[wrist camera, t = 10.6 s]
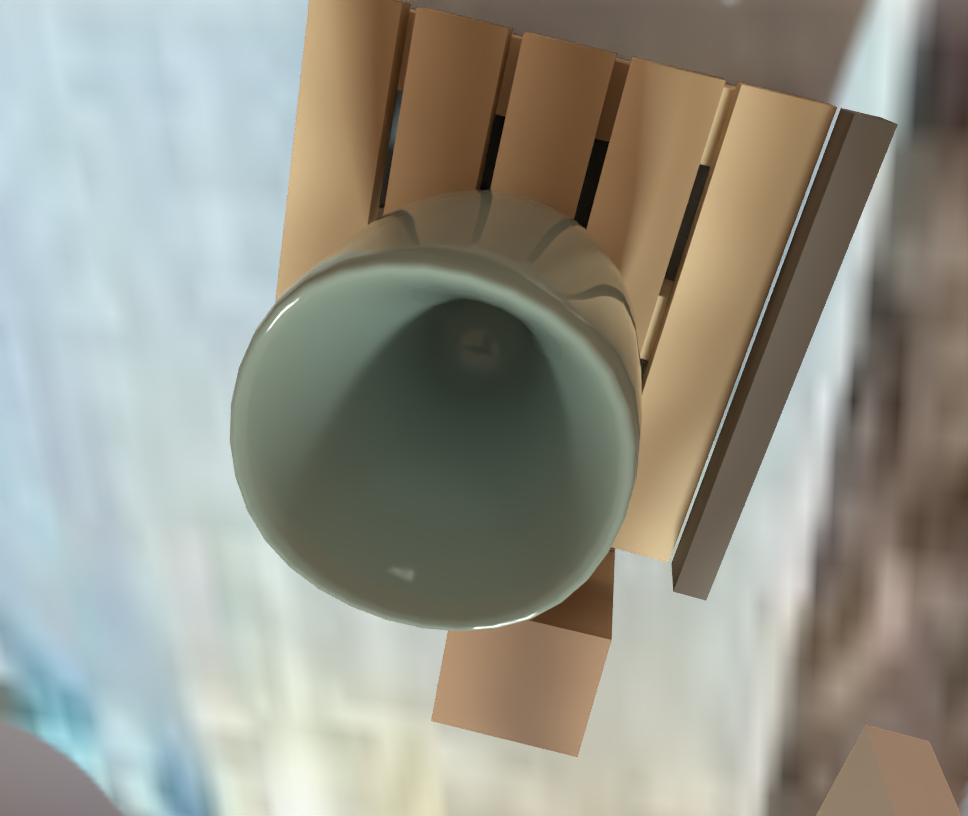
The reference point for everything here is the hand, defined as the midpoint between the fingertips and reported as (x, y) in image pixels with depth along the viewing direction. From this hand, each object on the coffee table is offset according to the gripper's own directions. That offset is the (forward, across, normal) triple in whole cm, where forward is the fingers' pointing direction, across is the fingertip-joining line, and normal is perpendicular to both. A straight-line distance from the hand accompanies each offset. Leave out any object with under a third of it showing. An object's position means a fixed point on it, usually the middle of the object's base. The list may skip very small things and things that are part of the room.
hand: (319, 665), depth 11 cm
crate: (+19, +4, -12) cm, 22 cm away
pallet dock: (+18, +1, 0) cm, 19 cm away
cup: (+16, 0, 0) cm, 16 cm away
